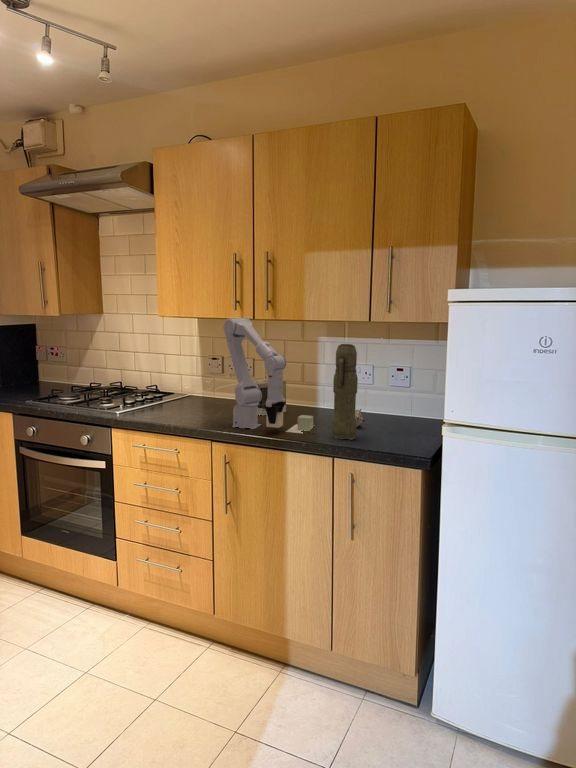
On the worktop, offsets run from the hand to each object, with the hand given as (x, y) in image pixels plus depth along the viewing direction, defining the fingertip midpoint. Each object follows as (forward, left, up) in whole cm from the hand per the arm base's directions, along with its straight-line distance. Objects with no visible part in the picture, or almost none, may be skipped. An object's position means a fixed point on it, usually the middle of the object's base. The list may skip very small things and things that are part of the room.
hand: (274, 421), depth 206 cm
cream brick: (0, 0, -2) cm, 2 cm away
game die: (+27, +20, -5) cm, 34 cm away
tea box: (-16, +35, -5) cm, 39 cm away
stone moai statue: (+27, +2, -5) cm, 27 cm away
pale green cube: (+10, +9, -4) cm, 14 cm away
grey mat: (+10, +9, -5) cm, 14 cm away
